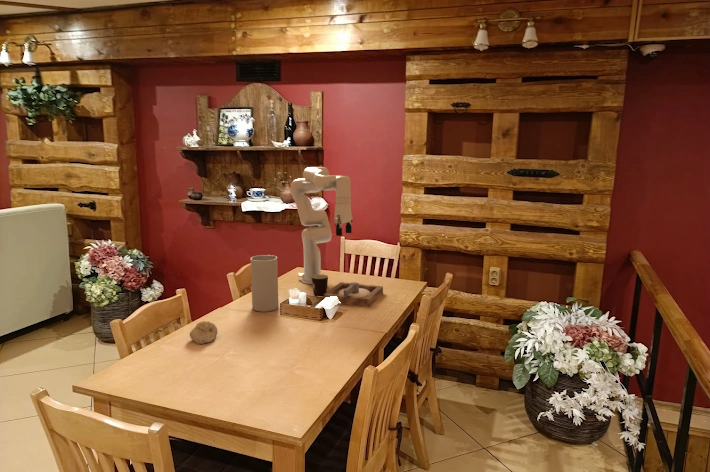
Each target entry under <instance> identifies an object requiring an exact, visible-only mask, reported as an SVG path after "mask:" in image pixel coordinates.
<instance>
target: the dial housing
mask: <svg viewBox="0 0 710 472" xmlns="http://www.w3.org/2000/svg"><path fill="white" fill-rule="evenodd" d="M349 283H350V282H342V281H341V282H339V283H337V284H336V285H335V286H333V287H332V288H331V289H329V290H328V291H327V292H326V293H325V294H324V296H323V299H324V298H325V297H330V296H337V297H338V299H339V301H340V302H341V304H340V305H346V306H353V307H355V306H356V307H363V308H370V307H371V306H372V305H374V303H375V302H376V301H377V300H378V299H379V298H380V297H382V295H383V294H384V286H381V285H373V284H364V283H363V284H362V283H359V288H363V289H366V290H368V291H369V292H370V294H369V295H368V296H367V297H357V296H347V297H345V296H344V295H339V291H340V290H342V289H346V288H347V287H349Z"/></svg>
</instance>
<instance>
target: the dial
mask: <svg viewBox="0 0 710 472" xmlns="http://www.w3.org/2000/svg"><path fill="white" fill-rule="evenodd" d="M348 283H349V287H347V288H346V289H342V290H340V291H339V295H344V296H345V297H347V296H357V297H367V296H368V295H369V294H370V292H369V291H368V290H366V289H363V288H359V284H360V283H359V282H348Z"/></svg>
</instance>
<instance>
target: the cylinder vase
mask: <svg viewBox="0 0 710 472" xmlns="http://www.w3.org/2000/svg"><path fill="white" fill-rule="evenodd" d="M278 271H279V270H278V256H276V255H273V254H272V255H270V254H261V255H254V256H251V257H250V277H251V278H250V280H251V282H250V283H251V303H252V304H251V305H252V307H251V308H252V309H253V310H254V311H255V312H260V313H268V312H272V311H276V310H277V309H278V308H279V282H278V281H279V277H278V276H279V274H278Z"/></svg>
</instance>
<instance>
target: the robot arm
mask: <svg viewBox="0 0 710 472" xmlns="http://www.w3.org/2000/svg"><path fill="white" fill-rule="evenodd" d="M302 176H303V177H302V178H297V179H294V180H293V181H292V182H291V183H290V194H291V197H292V199H293V201H294V203H295V204H296V209H297V213H298V216H299V220H300V223H301V225H302V226H304V227H306V228H304V229H303V230H302V231H301V240H302V245H303V246H302V247H303V273H302V272H298V275H297V277H298V278H301V282H302V283H303V284H307V285H313V283H312V276H313V275H319V274H322V273H321V271H322V270H321V269H322V268H321V262H322V261H321V250H320V248H319V247H318V245H317V244H322V243H323V244H324V243H329V242H331V240H332V237H333V234H332V233H333V232H332V229H331V225H330V222H329V217H328V214H327V211H325V209H322V208H313V206H312V201H311V200H310V199H309V197H308V196H307V195H305V194H314V193H319V192H321V191H325V192H327V191H335V207H334V219H333V222H334V226H335V227H334V228H335V236H337V237H342V236H343V227H342V226H343V225H345V224H346V225H345V233H346V234H352V232H353V231H352V225H353V223H352V222H353V215H352V206H351V204H352V199H351V198H352V197H351V191H352V190H351V186H352V185H351V177H349V176H348V175H341V174H339V175H338V174H337V175H335V174H334V175H332V174H331V175H330V171H329V169H328V168H327V167H324V166H310V167H306V168H305V169H304V170H303V173H302Z"/></svg>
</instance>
